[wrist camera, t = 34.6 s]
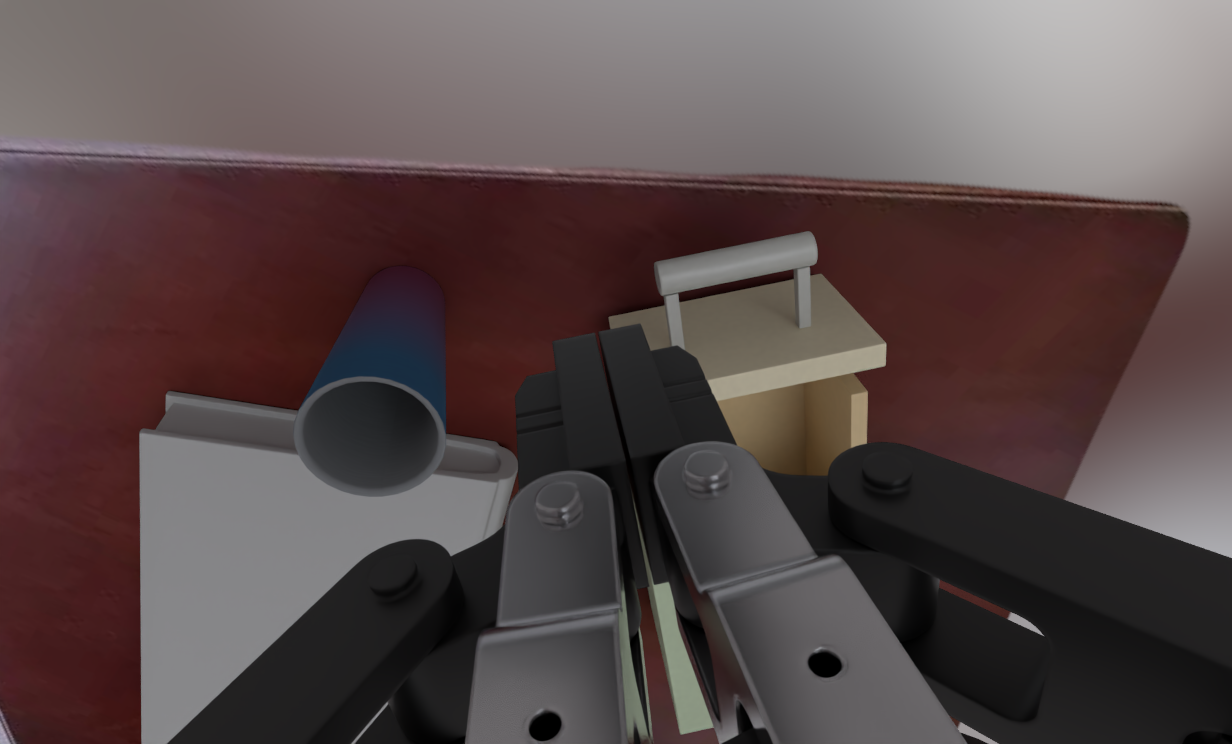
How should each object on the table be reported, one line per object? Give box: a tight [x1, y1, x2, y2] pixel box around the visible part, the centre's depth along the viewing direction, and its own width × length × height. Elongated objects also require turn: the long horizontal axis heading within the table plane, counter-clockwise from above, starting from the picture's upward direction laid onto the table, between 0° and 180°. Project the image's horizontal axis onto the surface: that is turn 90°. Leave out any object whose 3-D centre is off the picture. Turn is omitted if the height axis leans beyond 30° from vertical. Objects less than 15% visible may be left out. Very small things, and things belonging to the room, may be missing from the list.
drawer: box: [608, 231, 886, 476], centre depth 38 cm, size 18×11×8 cm, turn 9°
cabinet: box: [632, 496, 714, 734], centre depth 44 cm, size 15×13×10 cm
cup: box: [293, 266, 446, 497], centre depth 33 cm, size 6×5×12 cm
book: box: [140, 391, 518, 744], centre depth 45 cm, size 18×4×24 cm
